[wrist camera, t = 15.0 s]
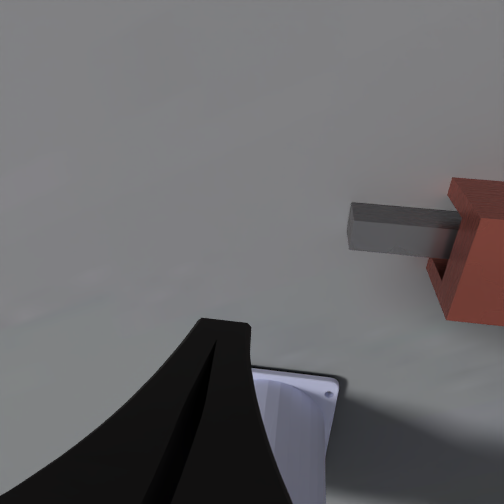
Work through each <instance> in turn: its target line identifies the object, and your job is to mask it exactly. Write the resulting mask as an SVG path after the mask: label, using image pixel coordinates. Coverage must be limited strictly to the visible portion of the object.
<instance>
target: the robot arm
mask: <svg viewBox="0 0 504 504" xmlns="http://www.w3.org/2000/svg"><path fill="white" fill-rule="evenodd" d="M250 342H251V326H250V325H249V324H248V323H243V322H234V321H225V320H217V319H208V318H201V319H200V320H198V321H197V323H196V324H195V325H194V327H193V328H192V329H191V331H190V332H189V334H188V335H187V336H186V337H185V339H184V340H183V341H182V343H181V344H180V345H179V346H178V347H177V349H176V350H175V351H174V352H173V353H172V355H171V356H170V357H169V358H168V359H167V360H166V361H165V363H164V364H163V365H162V366H161V367H160V368H159V369H158V371H157V372H156V373H155V374H154V375H153V376H152V377H151V378H150V379H149V380H148V381H147V382H146V383H145V384H144V385H143V386H142V387H141V388H140V389H139V390H138V391H137V392H136V393H135V394H134V395H133V396H132V397H131V398H130V399H129V400H128V401H127V402H126V403H125V404H124V405H123V406H122V407H121V408H120V409H118V410H117V411H116V412H115V413H114V414H113V415H112V416H111V417H109V418H108V419H107V420H106V421H105V422H104V423H102V424H101V425H100V426H99V427H98V428H96V429H95V430H94V431H93V432H91V433H90V434H89V435H88V436H86V437H85V438H84V439H83V440H81V441H80V442H79V443H78V444H76V445H75V446H74V447H72V448H71V449H70V450H68V451H67V452H66V453H64V454H63V455H61V456H60V457H59V458H57V459H56V460H54V461H53V462H51V463H50V464H48V465H47V466H45V467H44V468H43V469H41V470H40V471H38V472H37V473H35V474H34V475H32V476H31V477H29V478H28V479H26V480H25V481H23V482H22V483H20V484H19V485H17V486H16V487H14V488H12V489H11V490H9V491H8V492H6V493H4V494H3V495H1V496H0V504H326V477H325V456H326V451H327V446H328V441H329V436H330V431H331V426H332V422H333V417H334V412H335V407H336V402H337V397H338V392H339V382H338V381H337V380H336V379H335V378H331V377H322V376H314V375H306V374H298V373H289V372H281V371H273V370H265V369H257V368H251V361H250ZM327 391H330V392H327Z"/></svg>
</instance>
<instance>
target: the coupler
mask: <svg viewBox="0 0 504 504" xmlns="http://www.w3.org/2000/svg"><path fill="white" fill-rule="evenodd" d="M461 219H462V217H461V216H460V214H459V213H458V212H453V211H442V210H430V209H419V208H408V207H396V206H385V205H374V204H362V203H351V208H350V214H349V220H348V225H347V237H348V245H349V250H358V251H368V252H379V253H389V254H399V255H410V256H420V257H430V258H440V259H449V257H450V254H451V251H452V248H453V245H454V241H455V238H456V235H457V232H458V229H459V226H460V223H461Z"/></svg>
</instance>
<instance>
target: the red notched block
mask: <svg viewBox="0 0 504 504" xmlns="http://www.w3.org/2000/svg"><path fill="white" fill-rule="evenodd" d="M447 195H448V197H449V198H450V200H451V201H452V203H453V205H454V206H455V208H456V209H457V211H458V213H459V214H460V216H461V217H462V219H461V223H460V226H459V229H458V232H457V235H456V238H455V241H454V245H453V248H452V251H451V254H450V257H449V259H440V258H430V257H429V260H428V263H427V267H426V269H427V272H428V274H429V277H430V280H431V282H432V285H433V287H434V290H435V292H436V295H437V298H438V300H439V303H440V305H441V308H442V310H443V313H444V316H445V318H446V320H450V321H460V322H469V323H478V324H488V325H497V326H504V182H502V181H490V180H478V179H466V178H453V177H452V181H451V184H450V187H449V191H448V194H447Z"/></svg>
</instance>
